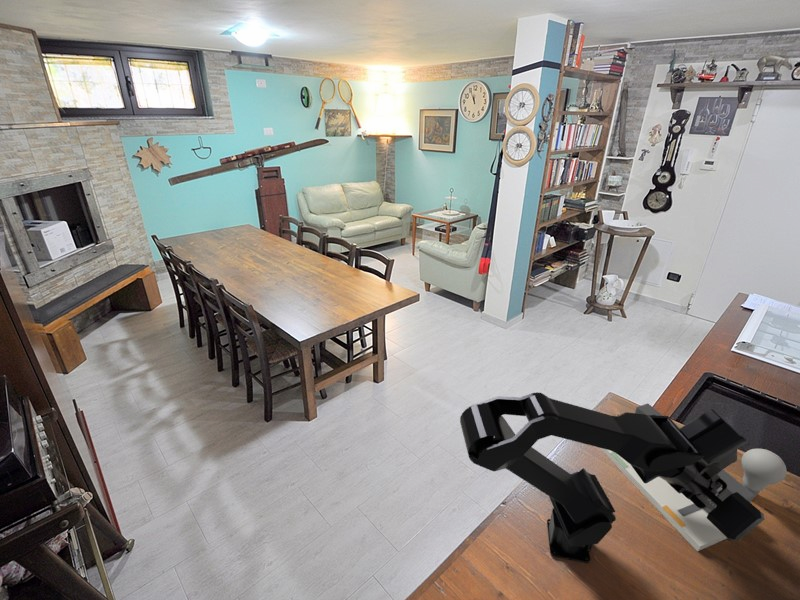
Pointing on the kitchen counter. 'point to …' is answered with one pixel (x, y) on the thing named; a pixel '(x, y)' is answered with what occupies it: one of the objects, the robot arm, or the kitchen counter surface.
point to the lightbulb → (761, 469)
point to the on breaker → (647, 410)
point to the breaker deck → (673, 506)
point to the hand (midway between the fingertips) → (707, 488)
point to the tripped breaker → (731, 489)
